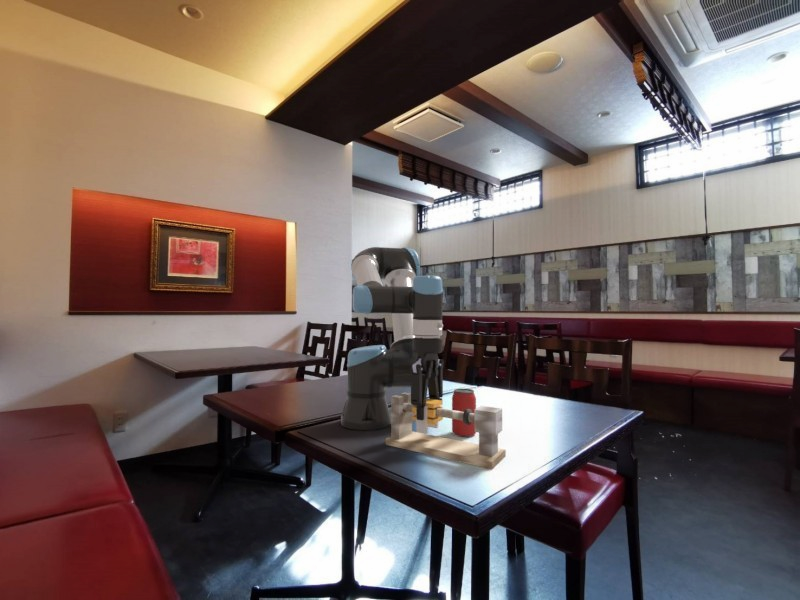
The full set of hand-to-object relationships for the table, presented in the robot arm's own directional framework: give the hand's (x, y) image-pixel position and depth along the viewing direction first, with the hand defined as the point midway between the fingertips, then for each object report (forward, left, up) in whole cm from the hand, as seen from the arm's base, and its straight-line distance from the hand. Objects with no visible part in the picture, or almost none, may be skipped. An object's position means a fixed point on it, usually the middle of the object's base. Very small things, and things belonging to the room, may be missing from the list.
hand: (427, 429), depth 96 cm
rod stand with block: (+4, 0, -4) cm, 6 cm away
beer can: (+3, +15, -4) cm, 16 cm away
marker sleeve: (0, 0, +2) cm, 2 cm away
